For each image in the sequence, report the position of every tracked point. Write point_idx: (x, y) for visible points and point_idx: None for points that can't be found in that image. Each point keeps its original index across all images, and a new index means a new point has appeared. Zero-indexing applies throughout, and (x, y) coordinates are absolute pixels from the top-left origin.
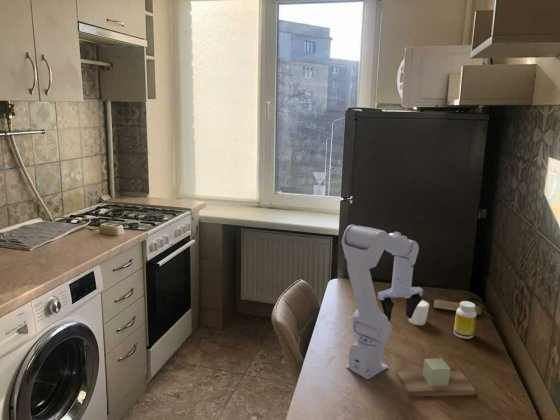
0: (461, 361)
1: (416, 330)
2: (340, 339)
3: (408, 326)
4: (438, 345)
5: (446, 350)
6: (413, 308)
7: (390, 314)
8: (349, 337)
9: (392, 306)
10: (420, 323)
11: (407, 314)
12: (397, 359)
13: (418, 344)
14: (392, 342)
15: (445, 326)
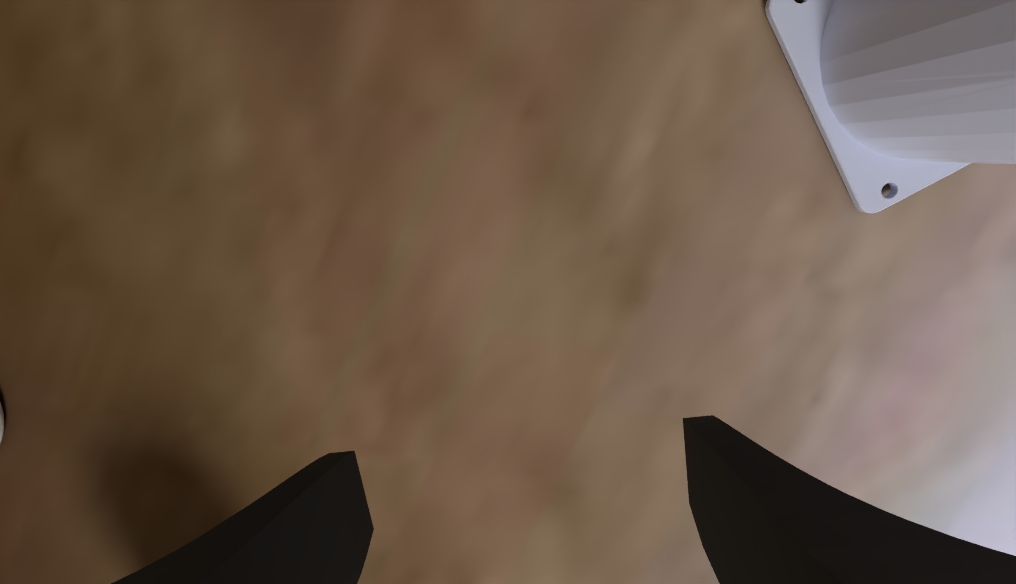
0: (79, 33)
1: None
2: (935, 484)
3: None
4: (183, 291)
5: (145, 212)
6: (231, 543)
7: (747, 464)
8: None
9: (852, 573)
10: None
11: (356, 524)
12: (607, 132)
13: (335, 327)
14: (531, 383)
15: (40, 526)
